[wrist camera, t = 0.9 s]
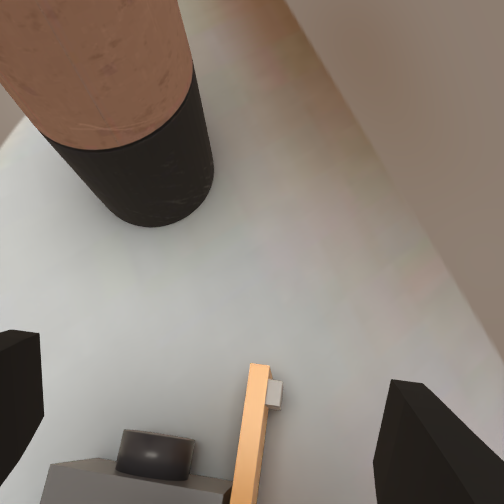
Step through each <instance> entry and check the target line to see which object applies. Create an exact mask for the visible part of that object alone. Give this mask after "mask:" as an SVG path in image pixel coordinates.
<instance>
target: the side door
mask: <svg viewBox="0 0 504 504" xmlns="http://www.w3.org/2000/svg"><path fill="white" fill-rule="evenodd" d="M272 379H273V378H272V374H271V370H270V366H267V365H260V364H253V363H250V370H249V377H248V383H247V390H246V397H245V404H244V411H243V417H242V424H241V431H240V438H239V445H238V451H237V458H236V465H235V472H234V479H233V486H232V492H231V499H230V504H256V502H257V495H258V487H259V479H260V472H261V464H262V456H263V449H264V441H265V433H266V425H267V418H268V410H269V409H274V410H281V403H282V394H283V381H277V380H272Z"/></svg>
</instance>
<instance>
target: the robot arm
mask: <svg viewBox="0 0 504 504" xmlns="http://www.w3.org/2000/svg"><path fill="white" fill-rule="evenodd" d="M43 417H44V404H43V387H42V370H41V352H40V335H39V333H33V332H26V331H18V330H8V331H4V332H1V333H0V486H1V485H2V483H3V482H4V481H5V479H6V478H7V477H8V475H9V474H10V473H11V471H12V470H13V468H14V467H15V466H16V464H17V463H18V461H19V460H20V458H21V457H22V455H23V453H24V451H25V450H26V448H27V446H28V445H29V443H30V441H31V439H32V438H33V436H34V434H35V432H36V430H37V428H38V427H39V425H40V423H41V421H42V419H43ZM373 468H374V478H375V488H376V497H377V504H504V461H503V460H502V459H501V458H500V457H499V456H497V455H496V454H495V453H494V452H493V451H492V450H491V449H490V448H489V447H488V446H487V445H486V444H485V443H484V442H483V441H482V440H481V439H480V438H479V437H478V436H476V435H475V434H474V433H473V432H472V431H471V430H470V429H469V428H468V427H467V426H466V425H465V424H464V423H463V422H462V421H461V420H460V419H459V418H458V417H457V416H456V415H455V414H454V413H453V412H452V411H451V410H450V409H449V408H448V407H447V406H446V405H445V404H444V403H443V402H442V401H441V400H440V399H439V398H438V397H437V396H436V395H435V394H434V393H433V392H432V391H431V390H429V389H428V388H427V387H426V386H425V385H424V384H423V383H416V382H408V381H401V380H393V379H391V382H390V387H389V392H388V396H387V401H386V405H385V410H384V414H383V419H382V423H381V428H380V432H379V437H378V441H377V446H376V450H375V455H374V459H373Z"/></svg>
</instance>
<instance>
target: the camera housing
mask: <svg viewBox="0 0 504 504" xmlns="http://www.w3.org/2000/svg"><path fill="white" fill-rule="evenodd" d="M194 443H195V440H192V439H188V438H183V437H177V436H172V435H165V434H159V433H152V432H145V431H137V430H126V429H124V431H123V435H122V440H121V444H120V449H119V453H118V458H117V461H112V460H106V459H101V458H92V459H85V460H77V461H70V462H63V463H55V464H50V468H49V471H48V475H47V479H46V483H45V486H44V490H43V494H42V497H41V501H40V504H230V499H231V492H232V486H233V481H228V480H223V479H217V478H211V477H205V476H199V475H194V474H189V471H190V465H191V460H192V454H193V448H194Z"/></svg>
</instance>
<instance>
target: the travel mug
mask: <svg viewBox="0 0 504 504" xmlns="http://www.w3.org/2000/svg"><path fill="white" fill-rule="evenodd" d="M0 83H1V84H2V86H3V87H4V88H5V90H6V91H7V92H8V93H9V95H10V96H11V97H12V98H13V99H14V101H15V102H16V103H17V105H18V106H19V107H20V108H21V110H22V111H23V112H24V113H25V115H26V116H27V117H28V118H29V120H30V121H31V122H32V123H33V125H34V126H35V127H36V128H37V129H38V130H39V132H40V133H41V134H42V135H43V136H44V137H45V138H46V140H47V141H48V142H49V143H50V144H51V145H52V146H53V147H54V149H55V150H56V151H57V152H58V153H59V154H60V155H61V156H62V157H63V159H64V160H65V161H66V162H67V163H68V164H69V165H70V166H71V168H72V169H73V170H74V171H75V172H76V173H77V174H78V175H79V177H80V178H81V179H82V180H83V181H84V182H85V183H86V184H87V186H88V187H89V188H90V189H91V190H92V191H93V192H94V193H95V195H96V196H97V197H98V198H99V199H100V200H101V201H102V202H103V203H104V204H105V206H106V207H107V208H108V209H109V210H110V211H112V212H113V213H114V214H115V215H116V216H118V217H119V218H121V219H122V220H124V221H126V222H128V223H131V224H135V225H139V226H145V227H156V226H163V225H168V224H171V223H174V222H176V221H179V220H181V219H183V218H184V217H186V216H188V215H189V214H190V213H192V212H193V211H194V210H195V209H196V208H197V207H198V206H199V205H200V204H201V203H202V202H203V200H204V199H205V197H206V196H207V194H208V192H209V190H210V187H211V184H212V180H213V174H214V165H213V158H212V152H211V147H210V142H209V137H208V132H207V127H206V122H205V118H204V113H203V108H202V103H201V98H200V94H199V89H198V84H197V79H196V74H195V70H194V65H193V60H192V56H191V51H190V48H189V44H188V40H187V36H186V32H185V29H184V25H183V21H182V17H181V14H180V10H179V6H178V2H177V0H0Z"/></svg>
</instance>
